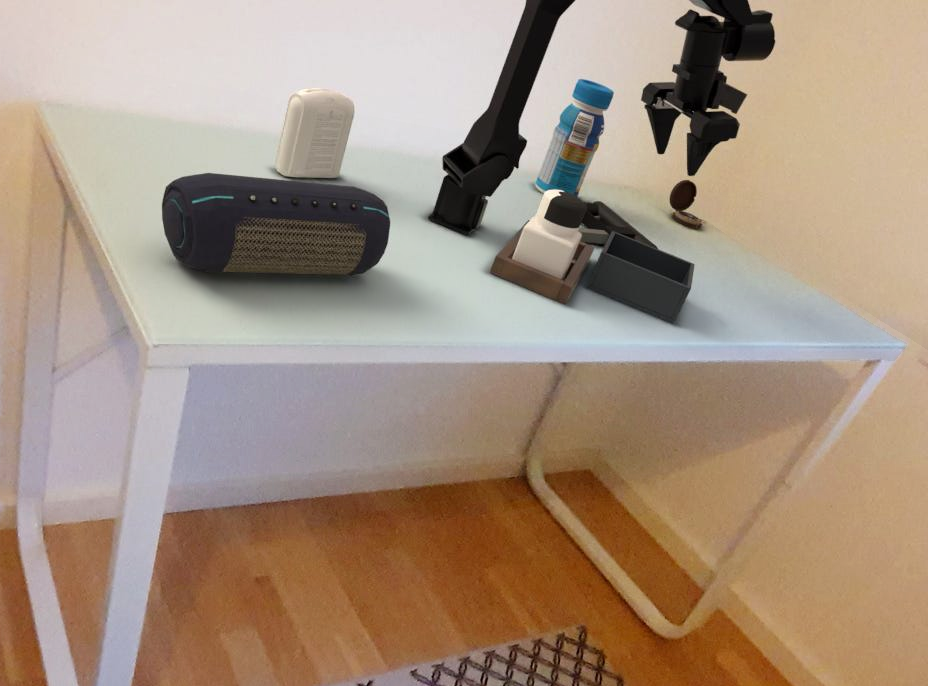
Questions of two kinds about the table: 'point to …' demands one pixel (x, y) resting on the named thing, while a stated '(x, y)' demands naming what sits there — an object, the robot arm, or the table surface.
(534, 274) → the frame
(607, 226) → the door handle
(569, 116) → the beverage bottle
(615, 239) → the tote
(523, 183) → the table surface
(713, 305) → the table surface
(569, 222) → the medicine bottle
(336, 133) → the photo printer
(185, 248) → the portable speaker
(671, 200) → the compass
